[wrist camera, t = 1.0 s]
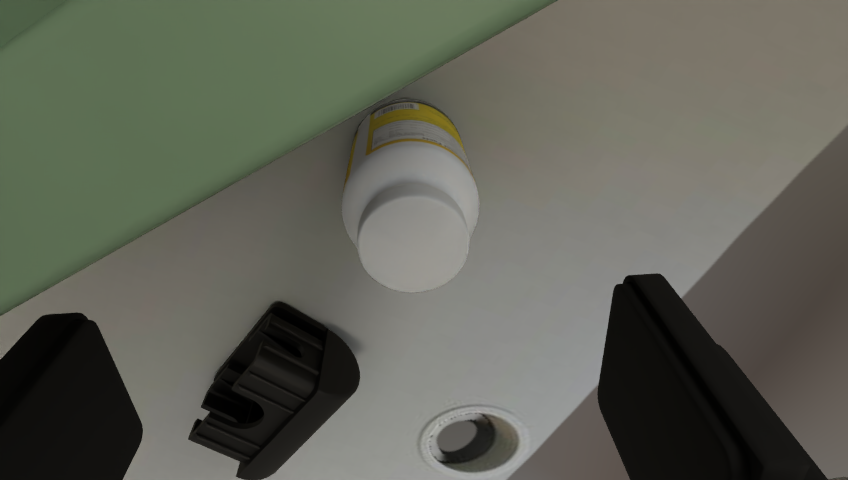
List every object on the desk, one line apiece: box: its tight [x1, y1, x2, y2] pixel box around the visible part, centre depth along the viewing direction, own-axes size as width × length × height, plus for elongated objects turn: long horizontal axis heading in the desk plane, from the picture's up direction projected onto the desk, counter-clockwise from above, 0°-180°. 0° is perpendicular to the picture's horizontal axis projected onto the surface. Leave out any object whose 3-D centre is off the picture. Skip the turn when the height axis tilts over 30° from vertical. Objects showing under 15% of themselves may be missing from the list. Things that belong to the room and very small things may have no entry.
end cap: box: [188, 302, 360, 480], centre depth 37 cm, size 10×7×7 cm
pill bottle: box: [342, 99, 479, 293], centre depth 27 cm, size 6×6×12 cm
